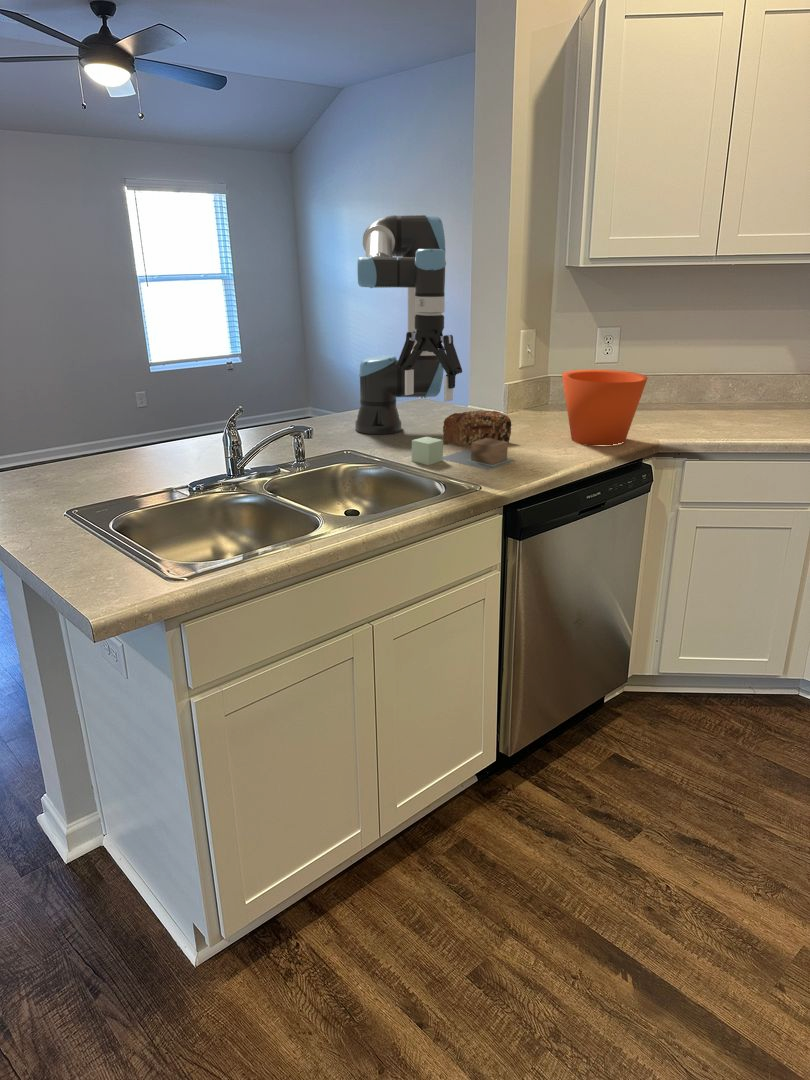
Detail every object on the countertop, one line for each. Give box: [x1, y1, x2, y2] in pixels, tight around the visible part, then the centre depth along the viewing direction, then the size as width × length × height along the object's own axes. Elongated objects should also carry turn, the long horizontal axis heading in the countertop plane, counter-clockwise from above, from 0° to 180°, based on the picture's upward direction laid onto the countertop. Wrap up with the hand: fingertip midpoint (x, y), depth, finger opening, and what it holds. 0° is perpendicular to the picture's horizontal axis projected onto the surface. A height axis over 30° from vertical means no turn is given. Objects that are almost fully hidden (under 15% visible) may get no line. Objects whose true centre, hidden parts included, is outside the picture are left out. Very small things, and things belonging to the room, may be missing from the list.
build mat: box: [443, 449, 517, 471], centre depth 204 cm, size 17×13×1 cm
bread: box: [442, 409, 512, 447], centre depth 225 cm, size 19×11×10 cm, turn 116°
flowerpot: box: [561, 369, 649, 446], centre depth 227 cm, size 25×25×20 cm
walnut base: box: [470, 438, 509, 465], centre depth 202 cm, size 7×7×5 cm
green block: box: [411, 436, 444, 466], centre depth 202 cm, size 6×6×7 cm
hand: (428, 397), depth 196 cm, fingers open, 13 cm apart
